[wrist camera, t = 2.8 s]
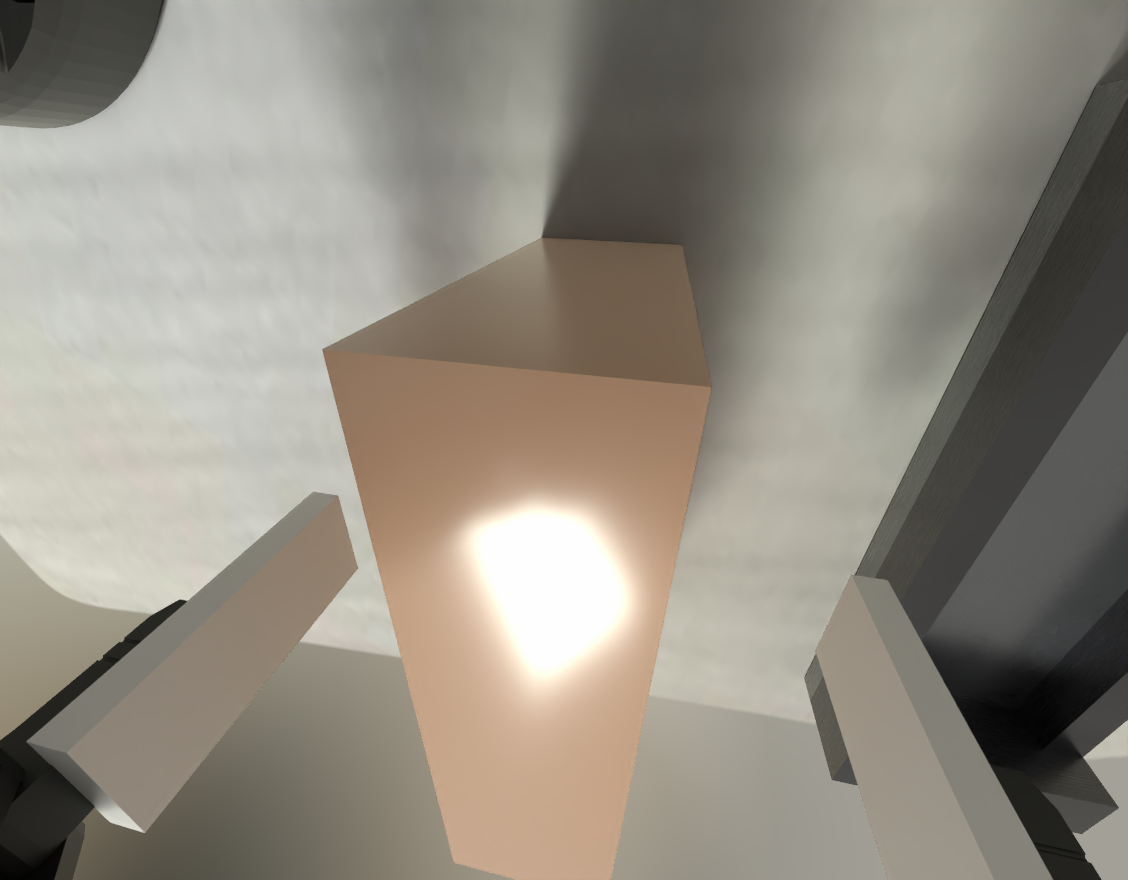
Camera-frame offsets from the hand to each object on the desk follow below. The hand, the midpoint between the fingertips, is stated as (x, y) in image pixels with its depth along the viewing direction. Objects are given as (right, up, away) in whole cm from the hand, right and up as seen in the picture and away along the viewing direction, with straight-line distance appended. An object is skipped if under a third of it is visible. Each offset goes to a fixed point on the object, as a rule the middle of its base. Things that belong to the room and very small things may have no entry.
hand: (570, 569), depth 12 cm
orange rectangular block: (+1, +3, +5) cm, 6 cm away
